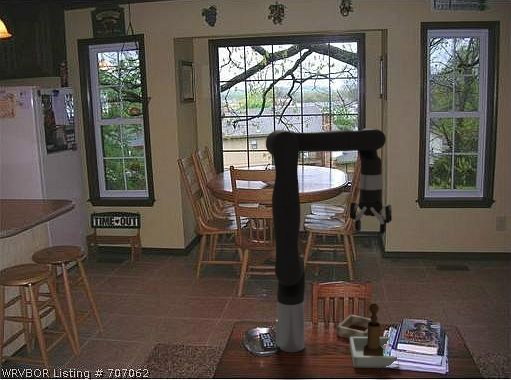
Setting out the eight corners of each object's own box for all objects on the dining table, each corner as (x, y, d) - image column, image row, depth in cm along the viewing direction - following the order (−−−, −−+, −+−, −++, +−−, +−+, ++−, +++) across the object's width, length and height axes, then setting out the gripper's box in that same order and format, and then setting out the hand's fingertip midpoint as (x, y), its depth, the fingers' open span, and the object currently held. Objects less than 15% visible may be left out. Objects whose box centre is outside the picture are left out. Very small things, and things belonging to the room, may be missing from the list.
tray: (353, 367, 168) (353, 357, 167) (349, 346, 182) (349, 336, 181) (398, 368, 167) (398, 357, 166) (390, 346, 181) (391, 337, 180)
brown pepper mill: (385, 359, 171) (386, 308, 168) (365, 360, 171) (366, 308, 168) (380, 349, 178) (381, 299, 174) (361, 350, 178) (361, 300, 174)
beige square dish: (337, 335, 190) (337, 326, 189) (350, 322, 200) (350, 314, 199) (366, 342, 184) (366, 333, 183) (377, 329, 194) (378, 320, 193)
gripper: (347, 187, 181) (346, 232, 184) (387, 190, 173) (386, 237, 176) (355, 183, 187) (355, 227, 190) (394, 186, 179) (393, 232, 182)
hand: (370, 232), depth 183 cm, fingers open, 8 cm apart
